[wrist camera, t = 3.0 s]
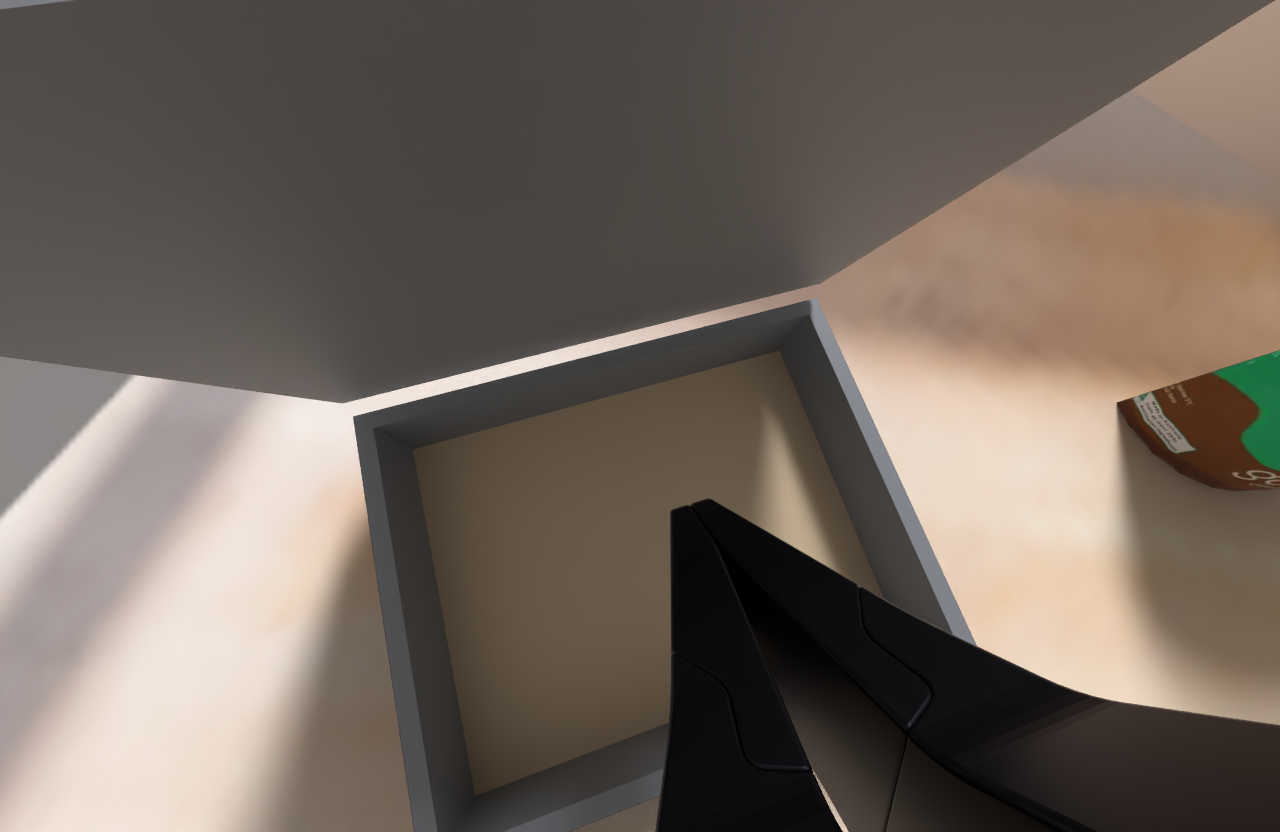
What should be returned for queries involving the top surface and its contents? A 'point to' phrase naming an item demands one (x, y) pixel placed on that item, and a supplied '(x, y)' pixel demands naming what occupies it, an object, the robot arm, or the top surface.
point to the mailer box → (605, 552)
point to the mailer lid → (497, 165)
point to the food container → (1216, 425)
